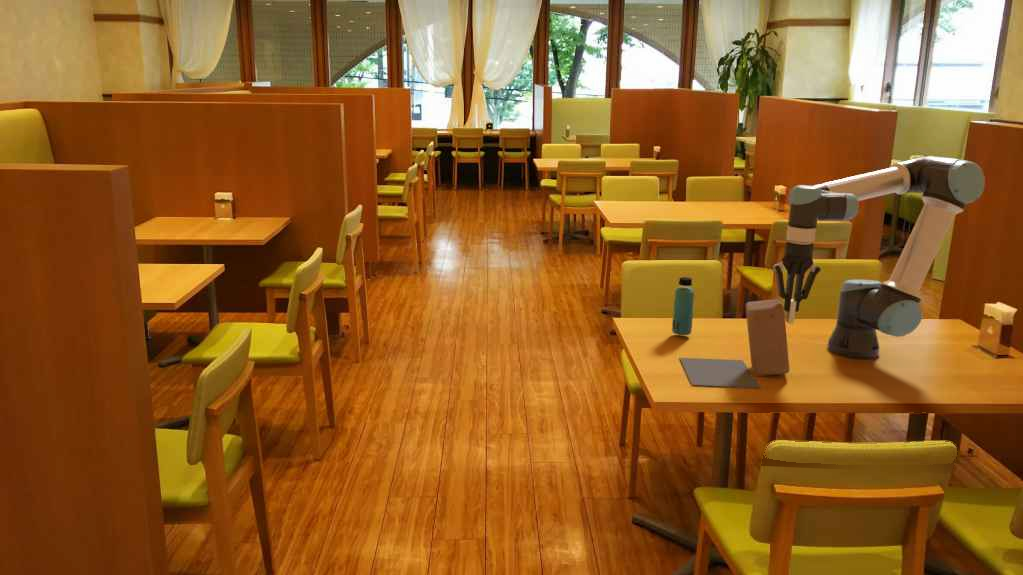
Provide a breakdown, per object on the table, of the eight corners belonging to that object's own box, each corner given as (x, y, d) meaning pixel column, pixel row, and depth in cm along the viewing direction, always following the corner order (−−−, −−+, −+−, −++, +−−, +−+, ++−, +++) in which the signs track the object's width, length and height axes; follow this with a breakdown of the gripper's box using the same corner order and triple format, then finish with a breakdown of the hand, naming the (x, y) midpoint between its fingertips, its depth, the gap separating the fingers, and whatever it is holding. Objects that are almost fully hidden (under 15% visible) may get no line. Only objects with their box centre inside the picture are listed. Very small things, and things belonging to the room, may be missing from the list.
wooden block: (790, 374, 233) (784, 307, 228) (753, 377, 235) (747, 310, 231) (786, 362, 242) (780, 297, 238) (751, 365, 245) (745, 301, 240)
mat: (742, 361, 248) (742, 360, 248) (760, 388, 227) (760, 387, 227) (679, 358, 249) (679, 357, 248) (691, 385, 227) (691, 384, 227)
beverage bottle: (694, 336, 271) (699, 277, 266) (686, 341, 265) (692, 281, 260) (675, 332, 274) (680, 274, 269) (667, 337, 269) (672, 278, 263)
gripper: (819, 239, 232) (808, 319, 238) (772, 237, 232) (763, 317, 238) (828, 245, 225) (816, 327, 231) (780, 243, 225) (770, 325, 231)
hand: (789, 322), depth 235 cm, fingers closed
